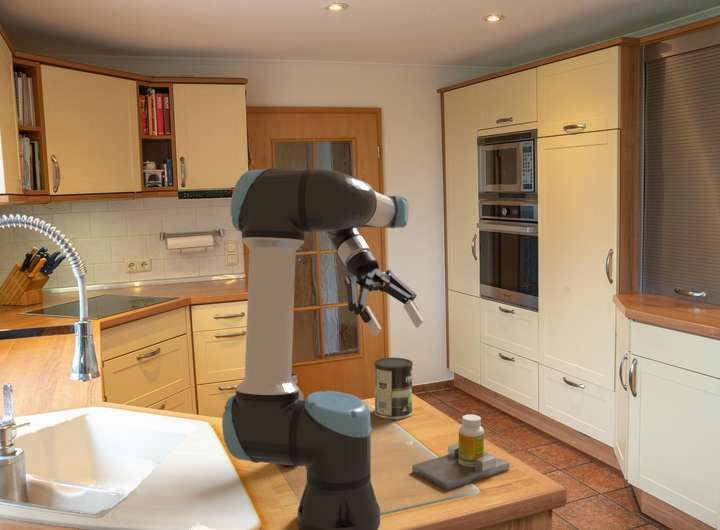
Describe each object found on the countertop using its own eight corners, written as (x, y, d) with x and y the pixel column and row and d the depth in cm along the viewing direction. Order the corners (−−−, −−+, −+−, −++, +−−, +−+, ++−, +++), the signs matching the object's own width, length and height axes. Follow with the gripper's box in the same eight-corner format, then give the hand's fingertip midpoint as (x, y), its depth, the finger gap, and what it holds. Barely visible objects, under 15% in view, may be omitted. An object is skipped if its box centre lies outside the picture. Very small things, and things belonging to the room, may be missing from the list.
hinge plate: (446, 490, 138) (447, 474, 138) (412, 471, 147) (412, 456, 146) (509, 469, 148) (509, 453, 148) (473, 453, 157) (473, 438, 157)
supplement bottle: (477, 467, 145) (478, 423, 144) (454, 462, 148) (454, 418, 147) (487, 458, 150) (488, 415, 149) (464, 453, 153) (464, 411, 152)
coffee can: (414, 408, 189) (414, 358, 187) (409, 420, 178) (410, 368, 177) (377, 405, 191) (377, 356, 189) (370, 418, 181) (370, 366, 179)
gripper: (388, 264, 181) (428, 330, 171) (311, 273, 165) (351, 345, 155) (402, 246, 176) (444, 312, 166) (324, 252, 160) (366, 326, 150)
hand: (399, 328), depth 161 cm, fingers open, 13 cm apart
